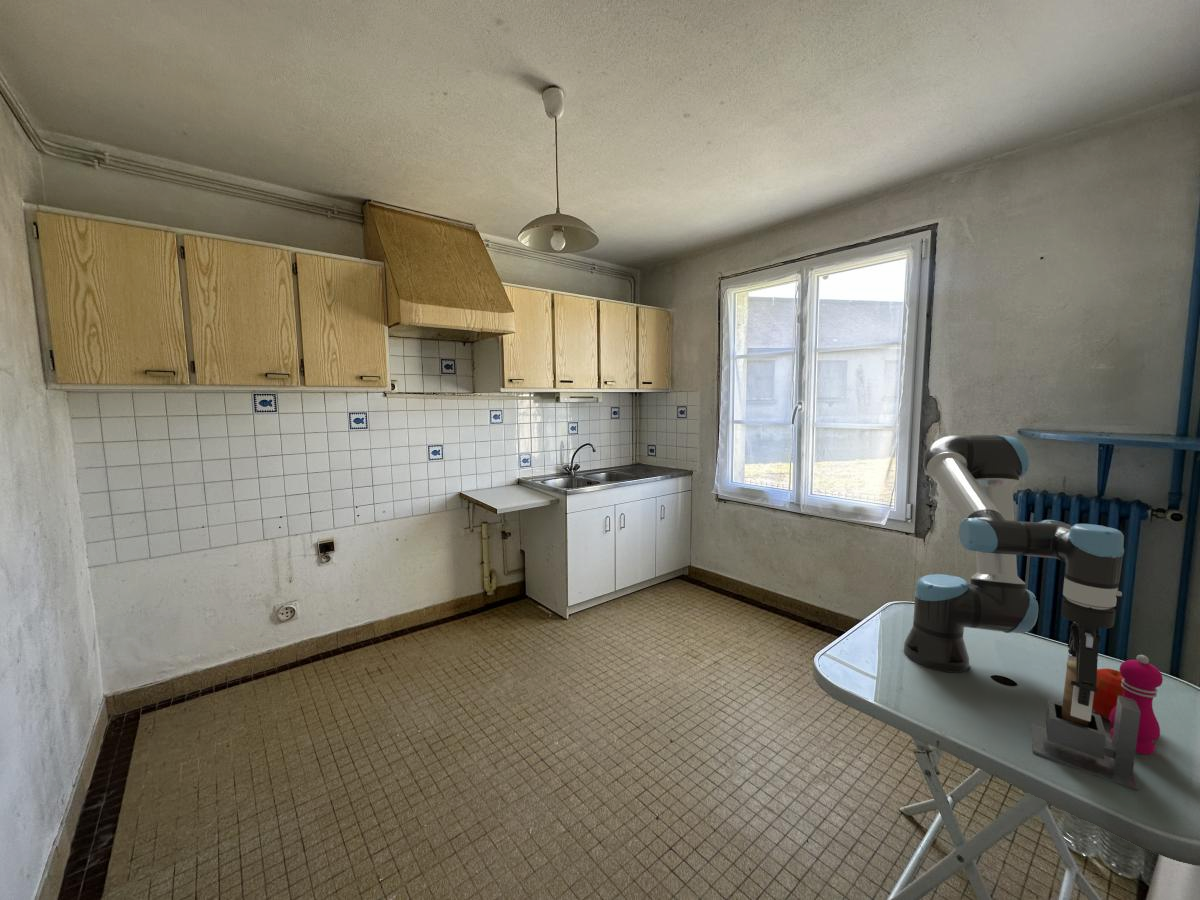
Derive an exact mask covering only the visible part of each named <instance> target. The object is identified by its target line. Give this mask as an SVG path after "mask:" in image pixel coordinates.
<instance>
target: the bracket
mask: <svg viewBox="0 0 1200 900" xmlns="http://www.w3.org/2000/svg"><path fill="white" fill-rule="evenodd" d="M1062 705H1063V703H1060V702H1057V701H1054V700H1050V699H1047V703H1046V713H1045V714H1046V715H1045V727H1043V726H1040V725H1037V724H1035V723H1031V738H1032V742H1031V743H1032V753H1033V754H1035V755H1038V756H1040V757H1043V758H1045V759H1049V760H1051V761H1054V762H1057V763H1060V764H1063V765H1064V766H1067V767H1069V768H1073V769H1076V770H1079V771H1081V772H1084V773H1087V774H1090V775H1093V776H1095V777H1097V778H1100V779H1104V780H1106V781H1109V782H1112V783H1115V784H1118V785H1120V786H1123V787H1126V788H1129V789H1131V790H1134V791H1138V786H1137V783H1136V780H1135V776H1134V765H1135V757H1136V752H1135V751H1136V744H1137V736H1138V729H1139V721H1140V713H1141V712H1140V710H1139V707H1138V705H1137V702H1136V700H1134V699H1130V698H1127V697H1123V696H1119V695H1118V698H1117V706H1116V714H1115V722H1114V730H1113V738H1112V739H1111V742H1110V741H1108V740H1107V734H1106V731H1105V730H1106V729H1105V727H1104V723H1103V719H1102V716H1101V715H1099V714H1097V713H1094V712H1092V713H1091V721H1089V725H1088V727H1085V726H1082V725H1078V724H1075V723H1072V722H1069V721H1066V720H1063V719H1061V714H1062Z"/></svg>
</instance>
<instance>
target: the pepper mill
mask: <svg viewBox="0 0 1200 900" xmlns="http://www.w3.org/2000/svg"><path fill="white" fill-rule="evenodd" d="M1135 658H1136V659H1127V660H1124V661H1123V662H1122V663H1121V664H1120V666H1119V672H1120V673H1121V675H1122V676H1123V678H1124V679H1122V683H1121V686H1122V687H1123V688H1124V693H1123V697H1127V698H1130V699H1134V700H1136V702H1137V705H1138V707H1139V710H1140V712H1141V713H1140V721H1139V729H1138V736H1137V744H1136V751H1135V754H1136V753H1137V754H1141V755H1152V754H1154V752H1155V747H1156V745H1155V742H1154V741H1157V740H1159V738H1160V737H1161V727H1160V725H1159V721H1158V720H1157V717H1156V714H1155V712H1154V708H1153V699H1155V698H1156V697H1157V695H1158V694H1157V693H1158V689H1157V688H1158V687H1160V686H1162V685H1163V681H1164V680H1163V679H1164V678H1163V674H1162V672H1161V671H1160V670H1159V669H1158V668H1157V667H1156V666H1155V665H1153V664H1151V663H1150V659H1149V657H1147V656H1146V655H1144V654H1138V655H1137V656H1136V657H1135ZM1116 706H1117V705H1116ZM1116 706H1115V707H1114V708H1113V709H1112V711H1111V713H1110V716H1109V720H1108V721H1109V722H1110V724H1111V725H1112V726H1113V727H1112V728H1111V729H1110V735H1109V736H1110V739H1111V740H1112V738H1113V730H1114V722H1115V714H1116Z"/></svg>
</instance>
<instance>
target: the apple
mask: <svg viewBox="0 0 1200 900" xmlns="http://www.w3.org/2000/svg"><path fill="white" fill-rule="evenodd" d="M1122 679H1124V678H1123V676H1122V675H1121V673H1120V670H1117V669H1116V670H1115V669H1113V668H1097V684H1096V687H1097V691H1096V692H1094V697H1093V705H1092V711H1094V712H1095V714H1097V715H1101V718H1104V719H1106V720H1108V721H1110V720H1109V716H1110V713H1111V711H1112V709H1113V708H1114V707H1115V706H1116V705H1117V698H1118V695H1119V696H1123V693H1124V688H1123V687H1122V686H1121V683H1122Z"/></svg>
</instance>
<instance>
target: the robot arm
mask: <svg viewBox="0 0 1200 900" xmlns="http://www.w3.org/2000/svg"><path fill="white" fill-rule="evenodd" d="M1029 466H1030V458H1029V453H1028V450H1027V448H1026V446H1025V445H1024V443H1023V442H1022V441H1021V440H1020V439H1018V438H1016V437H1014V436H1009V435H1001V434H995V435H993V434H987V435H986V434H984V435H983V434H950V435H946V436H943V437H942V436H941V437H940V438H938V439H936V440H935V441H934V442H932V443H931V444H930V446H928V448H927V449H926V451H925V453H924V456H923V467H924V469H925V471H926V473H927V474H928V476H929V477H930V478H931V479H932V480H934V481H937V483H938V484H939V486H940V488H941V489H942V491H943V492H944V494H945V496H946V497H947V499H948V501H949V502H950V504H951V505H952V507H953V509H954V510H955V512H956V514H957V516H958V517H959V519H960V520H961V522H960V523H959V526H958V538H959V542H960V544H961V546H962V547H963V548H964V549H966V550H967V551H971V552H975V553H976V554H975V555H976V573H974V574H973V575H972V576H971V577H970V584H968V581H967V580H965V579H964V578H962V577H959V576H956V575H950V574H941V573H938V574H937V573H934V574H933V573H932V574H927V575H924V576H923V575H922V576H921V577H920V578H918V579H917V582H916V585H915V591H914V607H913V619H912V620H913V622H912V627H911V628H910V630H909V633H908V634H907V636H906V639H905V640H904V646H903V652H904V653H905V655H906V656H907V657H908V658H909V659H911V660H912V661H914V662H916V663H918V664H920V665H922V666H924V667H927V668H929V669H933V670H937V671H941V672H948V673H962V672H966V671H967V670H968V669H969V665H970V658H969V657H970V656H969V654H968V651H967V650H968V649H967V647H966V642H965V640H964V630H965V628H971V629H978V630H986V631H994V632H1003V633H1005V634H1011V633H1013V634H1025V633H1028V632H1029V631H1031V630H1032V629H1033V627H1035V625H1036V623H1037V620H1038V615H1039V603H1038V600H1036V599H1037V596H1035V594H1034V593H1033V592H1032V591H1031V590H1029V589H1027V588H1026V582H1025V581H1023V580H1022V579H1021V578H1020V577H1019V576H1018V565H1017V564H1018V563H1017V561H1018V560H1017V556H1026V557H1027V556H1028V557H1039V558H1047V559H1049V558H1051V559H1056V560H1059V561H1061V562H1062V563H1065V575H1064V579H1063V588H1062V595H1063V596H1064V597H1063V598H1062V601H1061V607H1060V608H1061V609H1060V614H1061V616H1062V617H1063V618H1064V619H1067V621H1070V622H1072V623H1071V624H1070V634H1069V640H1068V643H1067V647H1068V648H1067V649H1068V650H1067V653H1068V656H1067V661H1068V660H1075V661H1076V681H1071V682H1070V684H1071V685H1074V688H1073V697H1072V705H1071V716H1074V717H1077V718H1080V719H1083V720H1086V721H1091V713H1093V712H1092V711H1093V709H1092V705H1093V697H1094V692H1096V691H1097V687H1096V684H1097V669H1098V660H1099V659H1098V657H1099V645H1100V643H1101V635H1100V634H1099V630H1097V629H1103V630H1104V629H1111V628H1113V627H1114V626H1115V620H1116V619H1115V618H1116V612H1117V611H1116V609H1115V608H1114V607H1116V606H1117V600H1118V599H1117V597H1122V595H1123V593H1122V591H1120V590H1119V585H1120V584H1119V583H1120V579H1121V572H1122V567H1123V558H1124V554H1125V549H1124V542H1125V535H1124V534H1123V532H1122V531H1121V530H1119V529H1116V528H1113V527H1108V526H1104V525H1099V524H1092V523H1075V524H1073V525H1071V524H1069V523H1066V522H1063V521H1058V520H1053V519H1044V520H1040V521H1038V522H1035V521H1021V520H1019V521H1018V520H1015V512H1014V510H1015V509H1014V494H1013V493H1014V491H1013V488H1014V487H1015V486H1017V485H1018V484H1019V483H1020V478H1021V477H1024V476H1025V475H1026V474H1027V473H1028V471H1029V470H1028V467H1029ZM1083 681H1085V682H1083ZM1087 682H1089V683H1087Z"/></svg>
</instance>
